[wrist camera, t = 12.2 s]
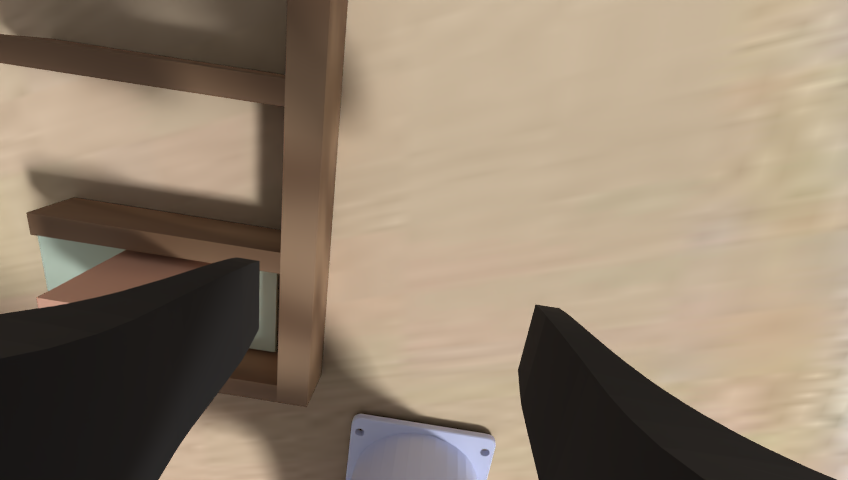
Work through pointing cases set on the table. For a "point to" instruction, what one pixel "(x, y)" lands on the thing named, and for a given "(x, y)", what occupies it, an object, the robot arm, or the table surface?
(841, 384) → the table surface
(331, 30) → the notched rack
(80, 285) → the terracotta block
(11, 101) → the table surface
